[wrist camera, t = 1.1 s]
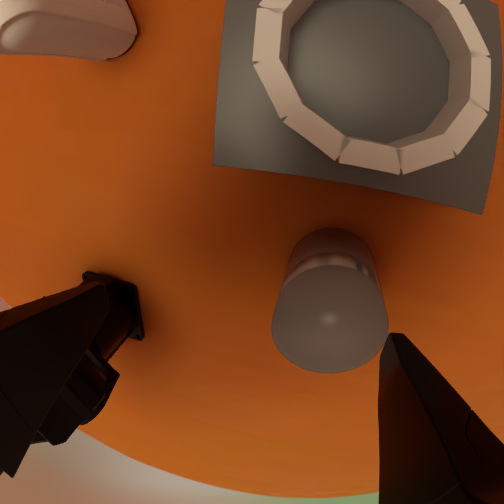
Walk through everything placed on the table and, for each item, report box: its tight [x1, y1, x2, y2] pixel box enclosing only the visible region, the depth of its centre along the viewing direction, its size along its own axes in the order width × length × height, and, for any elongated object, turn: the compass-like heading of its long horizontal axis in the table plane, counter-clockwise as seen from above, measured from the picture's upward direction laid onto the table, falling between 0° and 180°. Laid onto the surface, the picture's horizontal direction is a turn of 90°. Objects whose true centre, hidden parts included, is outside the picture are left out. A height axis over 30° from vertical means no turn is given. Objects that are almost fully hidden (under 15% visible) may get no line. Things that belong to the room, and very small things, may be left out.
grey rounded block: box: [271, 228, 389, 373], centre depth 18 cm, size 6×6×7 cm
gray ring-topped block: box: [213, 0, 502, 215], centre depth 12 cm, size 12×14×8 cm
